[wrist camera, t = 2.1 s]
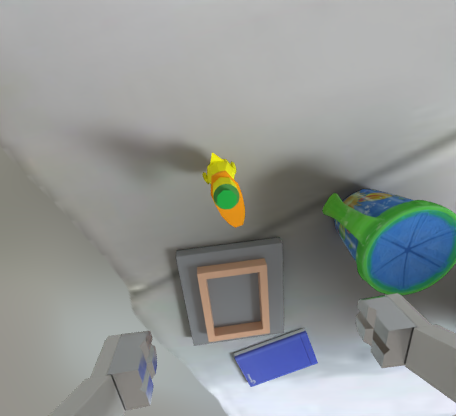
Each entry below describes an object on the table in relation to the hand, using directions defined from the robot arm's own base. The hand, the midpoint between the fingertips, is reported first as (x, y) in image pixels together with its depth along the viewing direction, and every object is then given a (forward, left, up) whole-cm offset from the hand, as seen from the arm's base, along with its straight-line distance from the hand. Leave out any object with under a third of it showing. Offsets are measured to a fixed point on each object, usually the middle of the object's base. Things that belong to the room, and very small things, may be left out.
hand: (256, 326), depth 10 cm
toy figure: (0, 0, -24) cm, 24 cm away
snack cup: (-18, +8, -24) cm, 31 cm away
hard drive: (-6, +33, -24) cm, 41 cm away
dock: (0, +18, -23) cm, 29 cm away
